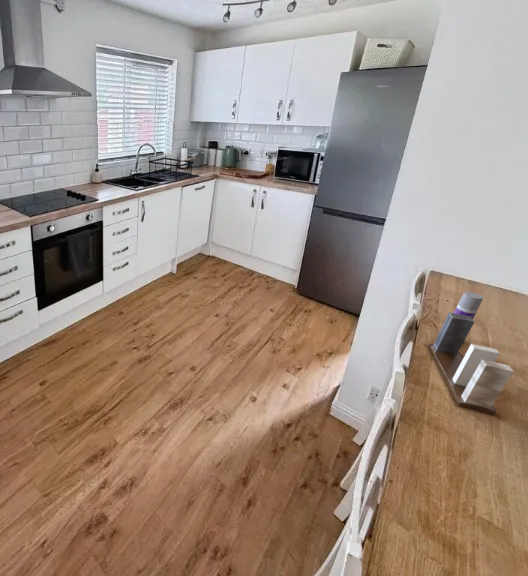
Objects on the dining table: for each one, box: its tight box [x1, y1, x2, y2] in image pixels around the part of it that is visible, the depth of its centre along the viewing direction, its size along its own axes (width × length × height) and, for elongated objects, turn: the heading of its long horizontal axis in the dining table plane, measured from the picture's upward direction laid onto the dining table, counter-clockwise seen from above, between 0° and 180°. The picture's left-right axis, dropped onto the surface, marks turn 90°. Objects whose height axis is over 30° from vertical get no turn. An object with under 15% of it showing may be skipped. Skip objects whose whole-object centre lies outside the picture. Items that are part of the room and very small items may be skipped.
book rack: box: [427, 312, 515, 416], centre depth 95 cm, size 7×27×12 cm, turn 158°
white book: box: [452, 343, 501, 387], centre depth 90 cm, size 5×2×11 cm, turn 68°
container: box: [453, 291, 484, 320], centre depth 111 cm, size 5×5×15 cm
